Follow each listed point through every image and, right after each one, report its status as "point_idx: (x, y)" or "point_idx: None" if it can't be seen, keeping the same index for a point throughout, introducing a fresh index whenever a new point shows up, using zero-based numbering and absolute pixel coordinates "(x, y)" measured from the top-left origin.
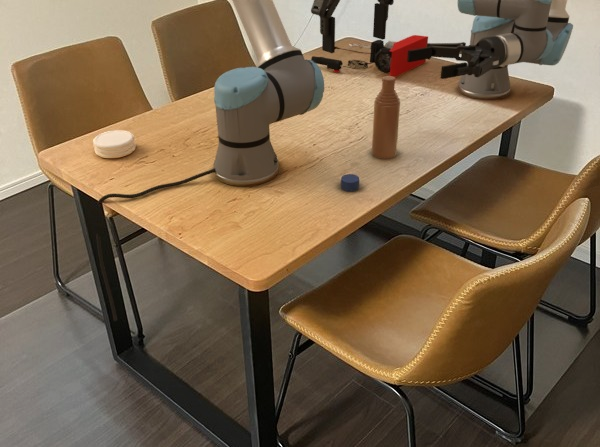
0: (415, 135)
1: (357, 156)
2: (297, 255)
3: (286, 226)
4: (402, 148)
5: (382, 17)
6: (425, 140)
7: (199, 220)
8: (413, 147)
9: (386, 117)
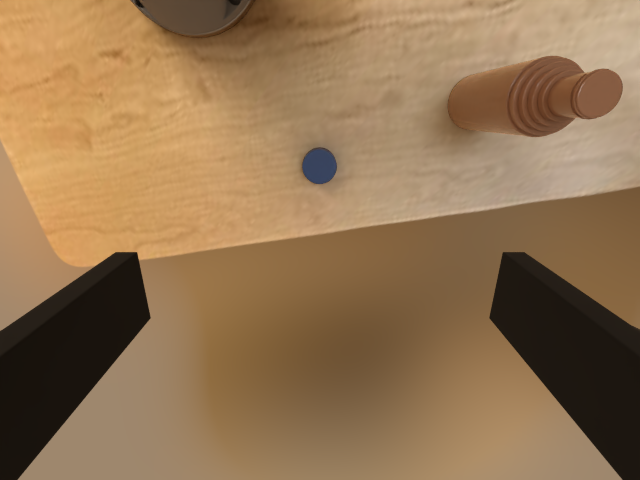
0: None
1: (424, 74)
2: None
3: (157, 192)
4: None
5: (569, 400)
6: None
7: (30, 77)
8: None
9: (496, 123)
